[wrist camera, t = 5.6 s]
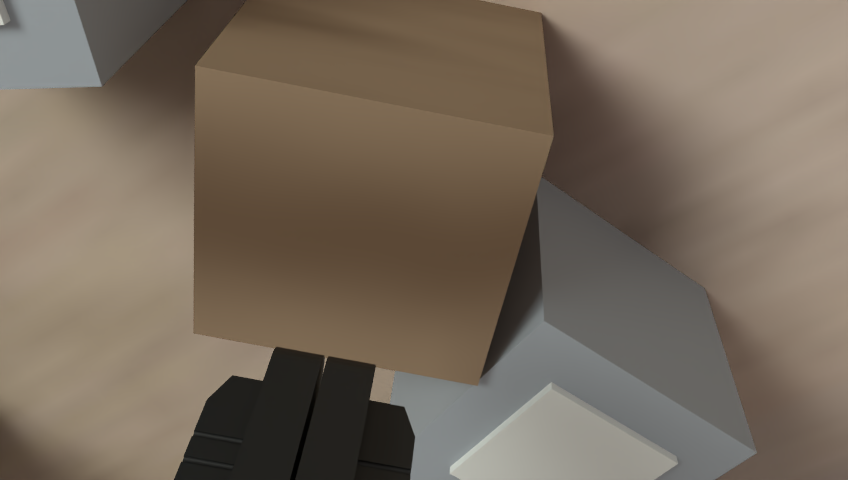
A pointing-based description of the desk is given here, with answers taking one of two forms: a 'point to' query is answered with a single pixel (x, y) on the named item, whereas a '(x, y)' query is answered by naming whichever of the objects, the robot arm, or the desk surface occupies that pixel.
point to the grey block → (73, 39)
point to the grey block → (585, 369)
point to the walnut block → (367, 177)
